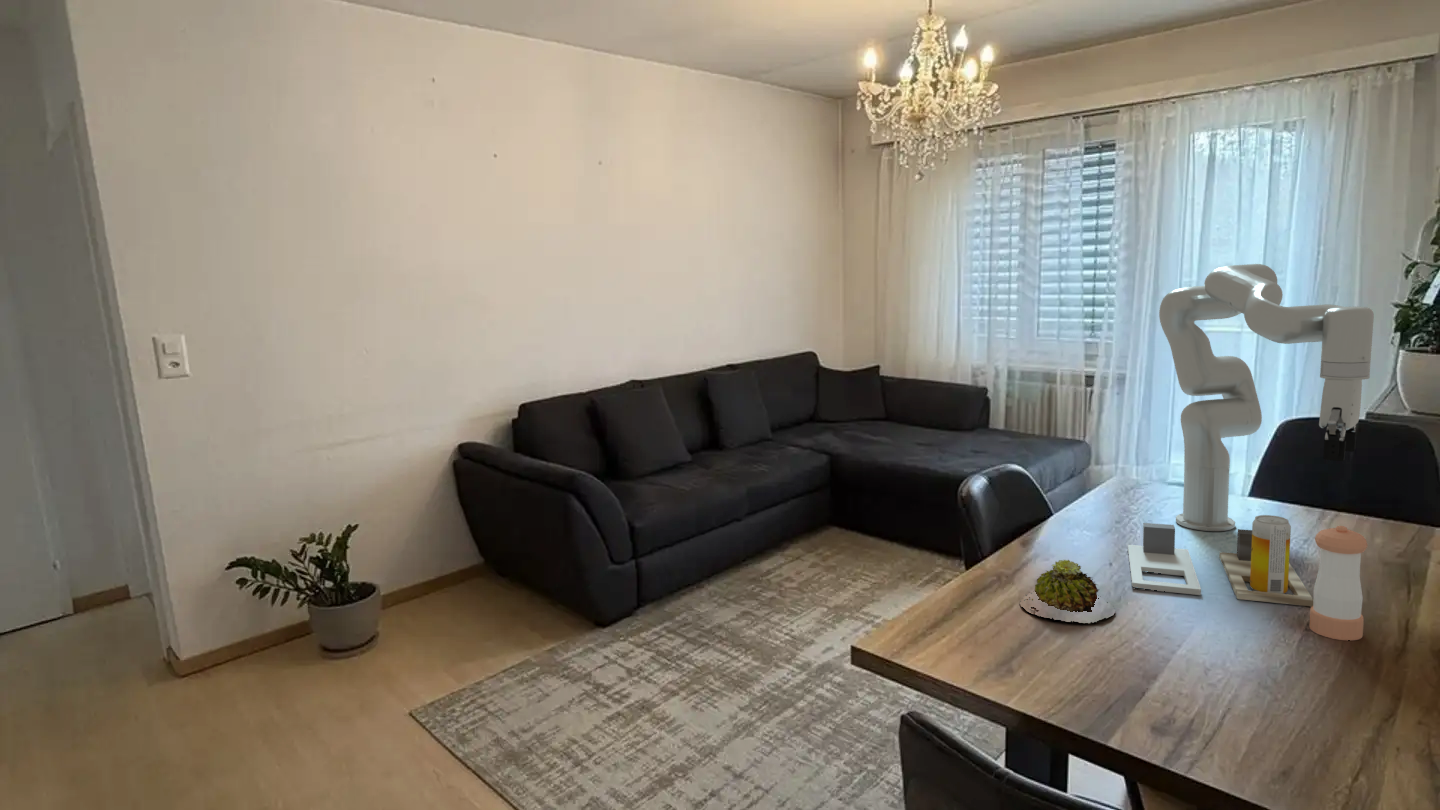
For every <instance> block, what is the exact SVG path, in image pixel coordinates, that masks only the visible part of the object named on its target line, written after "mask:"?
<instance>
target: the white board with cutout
mask: <svg viewBox="0 0 1440 810" xmlns="http://www.w3.org/2000/svg"><path fill="white" fill-rule="evenodd" d="M1142 527H1143V528H1142V529H1143V530H1142V545H1137V544H1127V555H1128V554H1129V556H1128V563H1129V562H1130V565H1129V571H1131V573H1130V579H1131V580H1132V582H1131V587H1132V586H1133V587H1138V588H1144V589H1143V590H1145V589H1151V590H1150V591H1154V590H1157V592H1164V591H1165V592H1166V593H1176V594H1177V593H1178V594H1185V595H1186V594H1187V595H1194V596H1201V595H1202V587H1201V585H1200V581H1199V579H1198V576H1197V575H1198V574H1197V573H1196V570H1195V567H1194V563H1193V561H1192V560H1193V559H1192V556H1191V555H1190V551H1189V549H1187V548H1177V547H1176V546H1175V545H1176V544H1175V543H1176V540H1175V539H1176V528H1175V525H1174V524H1165V523H1152V522H1151V523H1148V522H1143V525H1142ZM1175 547H1176V548H1175ZM1142 571H1148V572H1154V573H1153V574H1158V573H1161V574H1160V575H1168V576H1169V575H1171V576H1182V577H1183V578H1184V580H1185V583H1175V582H1164V581H1155V580H1145V579H1144V577H1143V572H1142Z"/></svg>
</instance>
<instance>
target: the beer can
mask: <svg viewBox="0 0 1440 810" xmlns="http://www.w3.org/2000/svg"><path fill="white" fill-rule="evenodd" d="M1254 517H1255V518H1254V520H1253V521H1252V526H1251V530H1252V547H1251V570H1250V582H1249V587H1250V588H1251V589H1252V591H1259V592H1270V593H1280V594H1287V593H1288V591H1289V586H1288V575H1289V563H1290V555H1291V554H1290V552H1291V531H1292V526H1291V524H1290V523H1289V519H1288V518H1286V517H1282V516H1278V515H1271V514H1269V515H1268V514H1261V515H1256V516H1254Z"/></svg>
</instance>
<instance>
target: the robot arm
mask: <svg viewBox="0 0 1440 810" xmlns="http://www.w3.org/2000/svg"><path fill="white" fill-rule="evenodd" d="M1282 300H1283V290H1282V287H1281V286H1280V285H1279V284H1278V277H1277V274H1276V272H1275V271H1274V270H1273V269H1272V267H1270V266H1267V265H1265V264H1261V263H1251V264H1250V263H1249V264H1234V265H1233V264H1232V265H1225V266H1220V267H1217V268H1215V269H1214V270H1212V271H1211V272H1210V273H1209V274H1207V276H1206V277H1205V280H1204V284H1203V285H1199V286H1197V285H1196V286H1187V287H1180V288H1176V289H1174V290H1171V291H1170V292H1168V293H1167V294H1166V295H1165V296H1164V297H1163V298H1162V300H1161V302H1160V306H1159V313H1158V314H1159V316H1158V317H1159V323H1160V326H1161V328H1162V331H1163V333H1164V336H1165V337H1166V339H1167V342H1168V344H1169V346H1170V351H1171V356H1172V360H1173V364H1174V368H1175V372H1176V373H1175V374H1176V377H1177V381H1178V384H1179V387H1180V389H1181V391H1182V392H1183V393H1184V394H1186V395H1187V396H1192V397H1195V396H1196V397H1201V396H1202V397H1203V396H1215V395H1217V396H1218V395H1221V396H1222V398H1214V399H1203V400H1197V401H1194V402H1191V403H1189V404H1187V405H1186V406H1185V407H1184V408H1183V410H1182V412H1181V413H1180V425H1181V431H1182V435H1183V443H1184V444H1183V445H1184V447H1183V449H1184V450H1183V451H1184V456H1183V457H1184V459H1183V461H1184V462H1183V463H1184V467H1183V503H1182V505H1183V507H1182V513H1179V514H1177V515H1176V516H1175V522H1176V523H1177V524H1178V525H1180V526H1181V527H1185V528H1187V529H1191V530H1198V531H1203V532H1204V531H1205V532H1225V531H1231V530H1233V529H1235V527H1236V522H1235V520H1234V519H1233V518H1231V517H1229V491H1230V490H1229V489H1230V488H1229V487H1230V462H1231V459H1230V453H1229V451H1228V449H1227V448H1226V446H1225V445H1224V443H1223V442H1222V439H1224V438H1233V437H1235V438H1236V437H1245V436H1250V435H1252V434H1253V435H1254V434H1255V433H1256V432H1257V431H1258V430H1259V429H1260V427H1261V426H1262V423H1263V422H1262V420H1263V419H1262V418H1263V416H1262V410H1261V405H1260V401H1259V396H1258V393H1257V389H1256V385H1255V381H1254V379H1253V375H1252V371H1251V369H1250V367H1249V366H1248V364H1247V363H1246V362H1245V361H1244V360H1243V359H1241V358H1240V357H1237V356H1233V355H1224V356H1221V355H1220V356H1215V354H1214V353H1213V350H1212V346H1211V341H1210V339H1209V337H1208V335H1207V334H1206V333H1205V332H1204V331H1203V329H1202V328H1201V327H1199V326H1198V325H1197V324H1195V321H1207V320H1209V321H1210V320H1224V319H1229V318H1234V317H1236V316H1238V315H1240V314H1243V316H1244V320H1245V323H1246V325H1247V326H1248V328H1249V329H1250V331H1252V332H1253V333H1255V334H1257V335H1258V336H1260V337H1262V338H1265V339H1266V340H1269V341H1272V342H1274V343H1277V344H1283V345H1290V344H1291V345H1292V344H1302V343H1303V344H1304V343H1320V342H1321V354H1320V367H1319V369H1320V371H1319V378H1321V379H1324V383H1323V388H1322V395H1321V404H1320V413H1319V422H1318V426H1319V428H1321V429H1326V430H1325V435H1324V441H1323V454H1322V455H1323V457H1322V458H1323V460H1325V461H1334V462H1344V461H1345V458H1346V452H1351V453H1353V452H1355V450H1356V443H1357V442H1356V441H1357V432H1356V430H1357V424H1358V423H1359V420H1360V415H1361V406H1362V405H1361V403H1362V387H1363V380H1368V379H1370V377H1371V376H1370V374H1371V362H1372V361H1371V359H1372V349H1373V348H1372V346H1373V333H1374V332H1373V331H1374V320H1375V319H1374V311H1373V309H1371V308H1370V307H1367V306H1342V305H1337V304H1311V305H1309V304H1308V305H1296V306H1295V305H1294V306H1283V305H1280V304H1281V303H1282Z"/></svg>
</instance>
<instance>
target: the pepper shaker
mask: <svg viewBox="0 0 1440 810" xmlns="http://www.w3.org/2000/svg"><path fill="white" fill-rule="evenodd" d="M1314 541H1315V544H1316V545H1317V547H1319V548H1320V550H1319V563H1318V564H1319V565H1318V572H1317V576H1316V579H1315V582H1314V587H1313V597H1312V598H1313V606H1310V609H1309V625H1308V627H1309V629H1310V630H1311V631H1312V632H1314V633H1316V634H1317V635H1320V636H1322V637H1324V638H1329V639H1333V640H1339V641H1348V640H1350V641H1358V640H1361V639H1362V638H1363V636H1364V634H1363V633H1364V621H1365V620H1364V615H1363V614H1362V607H1363V599H1364V597H1363V592H1362V584H1361V578H1360V577H1361V559H1362V558H1361V557H1362V553H1364V552H1365V551H1366V549H1368V547H1369V546H1368V542H1367V538H1365V536H1363V534H1361V533H1359V532H1356V531H1355V530H1352V529H1348V527H1346V526H1344V525H1337V526H1336V527H1330V528H1325V529H1321V530H1319V531H1318V533H1316V534H1315V537H1314Z"/></svg>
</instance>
